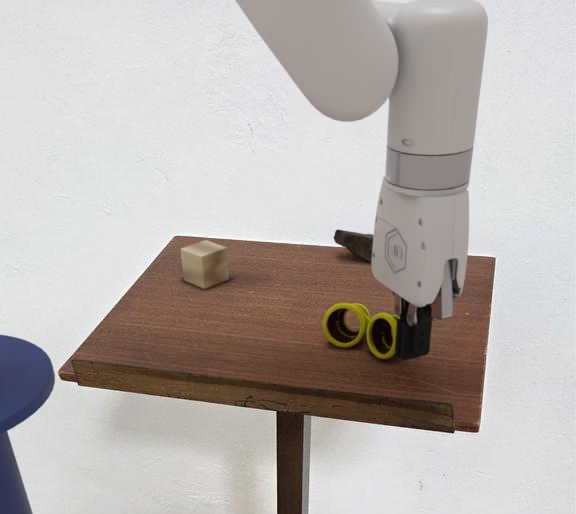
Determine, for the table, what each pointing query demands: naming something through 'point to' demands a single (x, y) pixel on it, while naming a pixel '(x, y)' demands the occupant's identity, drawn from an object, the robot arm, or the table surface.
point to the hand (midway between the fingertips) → (411, 354)
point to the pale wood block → (205, 264)
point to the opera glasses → (361, 329)
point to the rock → (356, 243)
